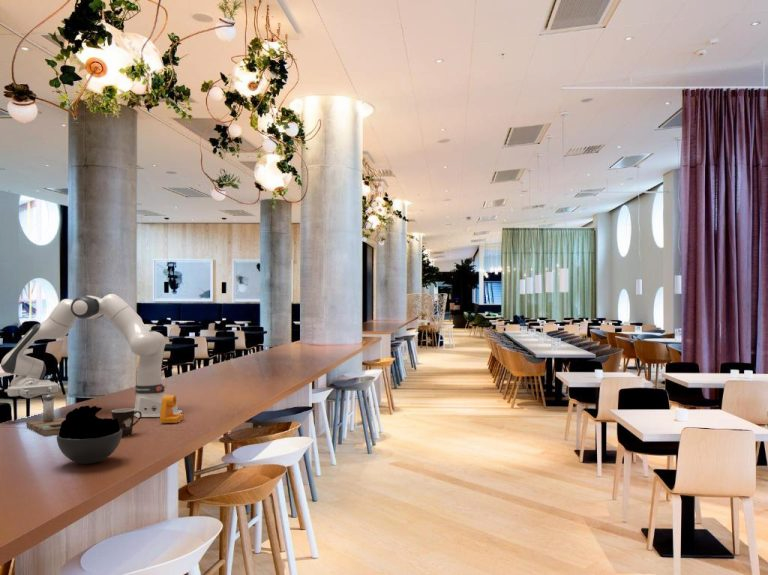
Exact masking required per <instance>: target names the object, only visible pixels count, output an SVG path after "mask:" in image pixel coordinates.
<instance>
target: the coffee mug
mask: <svg viewBox="0 0 768 575" xmlns="http://www.w3.org/2000/svg"><path fill="white" fill-rule="evenodd" d="M137 412H138V413H140V417H139V418H138V419H137V420H136V421H134V418H135V416H134V414H135V413H137ZM141 416H142V414H141V412H139V411H135V409H134V408H127V407H126V408H116V409H113V410H111V417H112V418H111V419H113V420H114V419H116V418H117V420H118V422H119V426H120V429H122V436H126V437H129V436H128V435H130V436H132V435H131V434H133V428H134V426H135V425H136V424H137V423H139V421H140V420H141V419H142V418H141Z"/></svg>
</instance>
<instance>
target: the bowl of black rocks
mask: <svg viewBox="0 0 768 575" xmlns="http://www.w3.org/2000/svg"><path fill="white" fill-rule="evenodd" d="M102 409H103V407H98V406H97V405H93V406H91V407H90V405H81V406H79V407H75V408H74V409H72V410H70V411H69V412H68V413H66V415H65V418H64V419H65V420H64V421H63V422H62V423H61V428H60V431H59V434H58V435H56V442H57V446H58V449H59V450H60V452H61V453H62V454H63V455H64V456H65V457H66V458H67V459H69V460H71V461H72V462H75V463H78V464H82V465H84V464H85V465H88V464H96V463H98V462H101V461H104V460H105V459H107V458H108V457H110V456H111V455H112V454H113V453H114V452H115V451H116V450H117V448H119V445H120V443H121V440H122V438H123V437H122V429H120V426H119V422H118V420H117V418H116V419H114V420H113V419H112V418H109V417H107V418H105V417H104V418H101V417H98V416H97V414H98V412H100V411H102Z"/></svg>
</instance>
